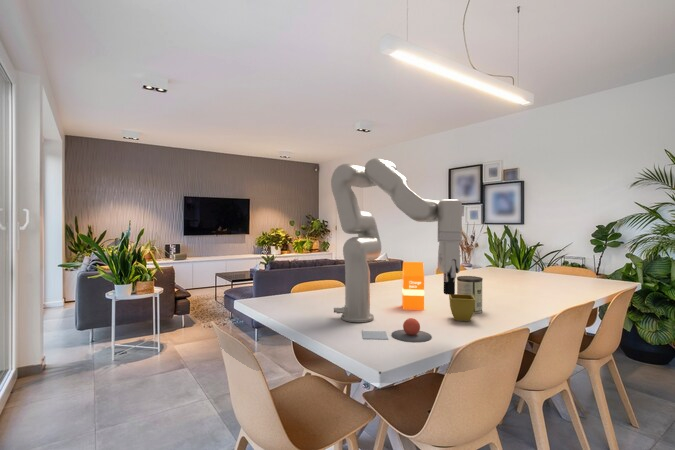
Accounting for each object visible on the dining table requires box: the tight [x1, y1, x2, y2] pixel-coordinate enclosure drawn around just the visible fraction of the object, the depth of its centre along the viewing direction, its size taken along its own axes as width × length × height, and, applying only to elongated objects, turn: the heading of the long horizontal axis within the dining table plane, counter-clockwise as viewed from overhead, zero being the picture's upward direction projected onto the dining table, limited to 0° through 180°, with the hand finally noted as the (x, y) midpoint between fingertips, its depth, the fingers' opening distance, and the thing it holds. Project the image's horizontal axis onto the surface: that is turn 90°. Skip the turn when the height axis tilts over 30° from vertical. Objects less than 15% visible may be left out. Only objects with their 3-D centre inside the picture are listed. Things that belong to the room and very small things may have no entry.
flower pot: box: [448, 293, 475, 322], centre depth 141 cm, size 9×9×9 cm
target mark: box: [390, 329, 433, 343], centre depth 121 cm, size 13×13×1 cm
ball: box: [402, 317, 421, 335], centre depth 121 cm, size 6×6×6 cm
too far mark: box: [361, 330, 389, 340], centre depth 121 cm, size 8×8×1 cm
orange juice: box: [401, 261, 425, 311], centre depth 161 cm, size 8×9×20 cm
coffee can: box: [456, 275, 484, 314], centre depth 156 cm, size 10×10×14 cm
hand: (449, 293), depth 119 cm, fingers closed
